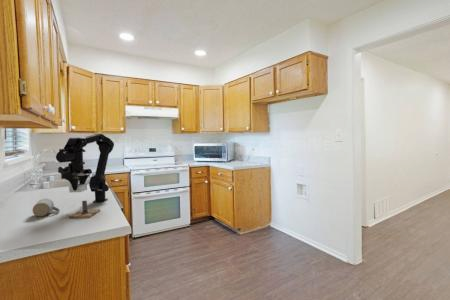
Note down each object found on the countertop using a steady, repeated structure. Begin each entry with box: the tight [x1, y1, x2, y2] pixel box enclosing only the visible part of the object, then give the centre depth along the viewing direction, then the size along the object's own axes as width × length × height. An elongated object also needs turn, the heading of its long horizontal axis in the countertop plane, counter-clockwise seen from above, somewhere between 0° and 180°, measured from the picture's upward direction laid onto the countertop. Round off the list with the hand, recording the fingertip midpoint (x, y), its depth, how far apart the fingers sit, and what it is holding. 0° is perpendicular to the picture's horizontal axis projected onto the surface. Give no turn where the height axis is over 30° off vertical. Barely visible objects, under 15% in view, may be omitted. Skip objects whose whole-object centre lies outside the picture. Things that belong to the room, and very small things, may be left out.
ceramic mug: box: [32, 198, 61, 217], centre depth 120 cm, size 11×8×8 cm
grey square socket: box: [68, 183, 88, 193], centre depth 128 cm, size 6×6×4 cm
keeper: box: [68, 199, 101, 219], centre depth 118 cm, size 10×10×7 cm
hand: (78, 189), depth 128 cm, fingers closed on grey square socket, 6 cm apart
